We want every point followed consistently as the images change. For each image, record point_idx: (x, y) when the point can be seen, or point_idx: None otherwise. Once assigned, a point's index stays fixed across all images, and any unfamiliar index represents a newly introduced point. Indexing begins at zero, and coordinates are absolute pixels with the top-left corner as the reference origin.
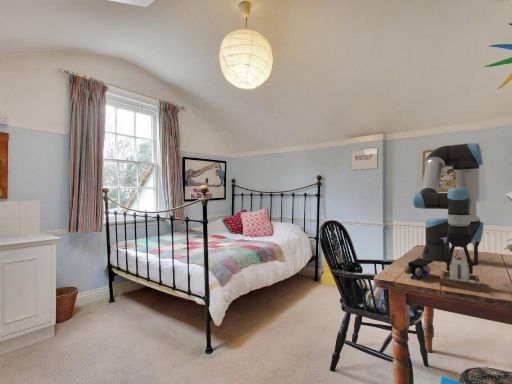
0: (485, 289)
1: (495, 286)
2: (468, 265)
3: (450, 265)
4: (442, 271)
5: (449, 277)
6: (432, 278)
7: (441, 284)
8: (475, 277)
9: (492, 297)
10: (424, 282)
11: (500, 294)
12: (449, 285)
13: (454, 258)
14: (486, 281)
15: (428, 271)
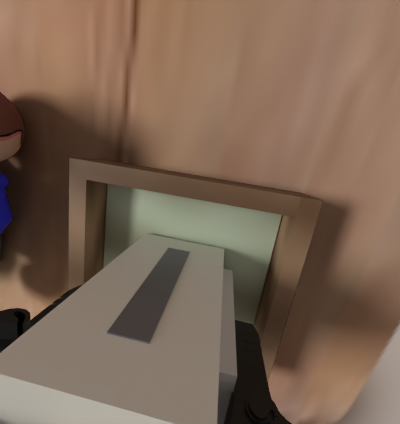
0: (296, 310)
1: (383, 229)
2: (227, 392)
3: None
4: (73, 173)
5: (133, 199)
6: (58, 204)
7: None
8: (289, 214)
9: (285, 412)
10: (34, 296)
11: (342, 365)
12: None
13: (20, 422)
14: (374, 118)
15: (2, 155)
